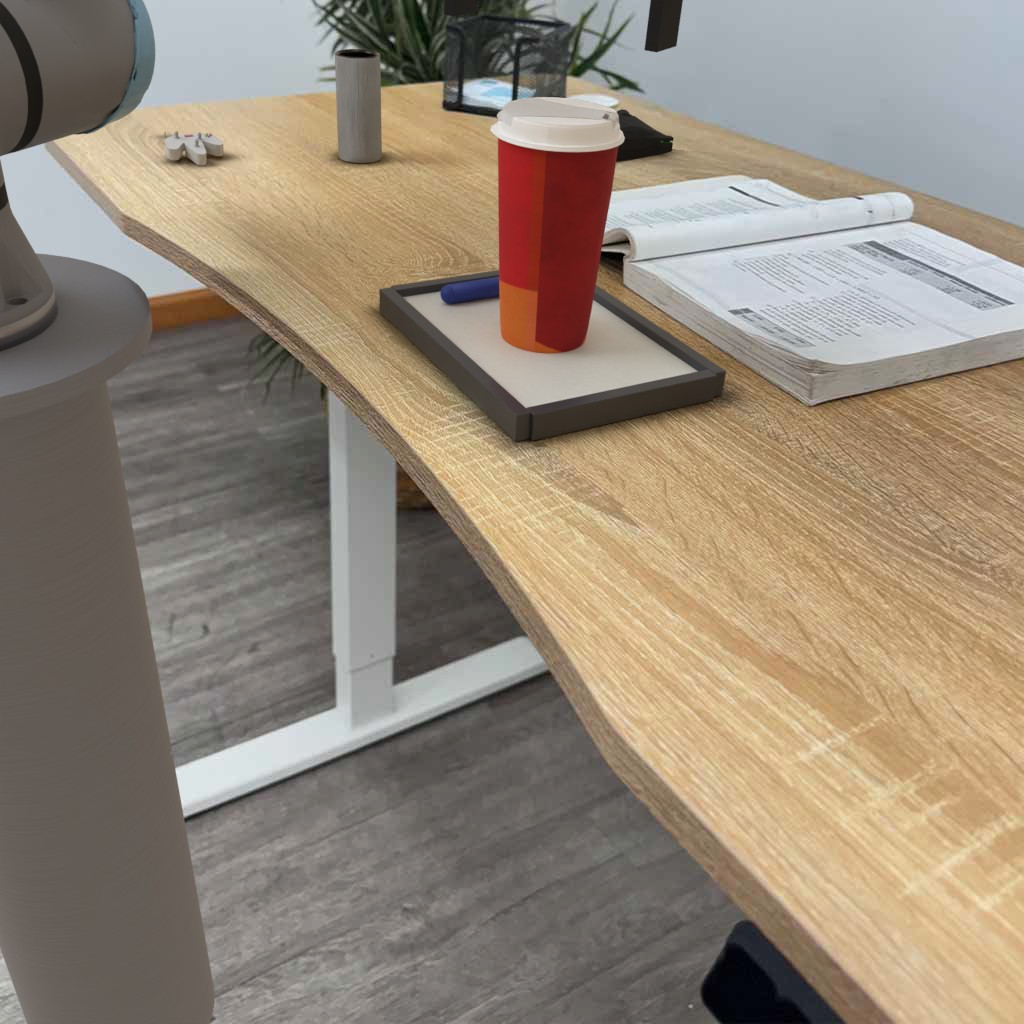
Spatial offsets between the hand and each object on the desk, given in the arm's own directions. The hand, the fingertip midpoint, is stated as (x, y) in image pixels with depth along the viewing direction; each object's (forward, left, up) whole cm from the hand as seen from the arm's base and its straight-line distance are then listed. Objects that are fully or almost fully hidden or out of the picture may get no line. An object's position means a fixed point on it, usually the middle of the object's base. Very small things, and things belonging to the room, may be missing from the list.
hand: (556, 30), depth 63 cm
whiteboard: (0, 0, -21) cm, 21 cm away
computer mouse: (-45, +33, -21) cm, 59 cm away
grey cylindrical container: (-49, +6, -21) cm, 53 cm away
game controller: (-57, -10, -21) cm, 61 cm away
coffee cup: (0, 0, -20) cm, 20 cm away
